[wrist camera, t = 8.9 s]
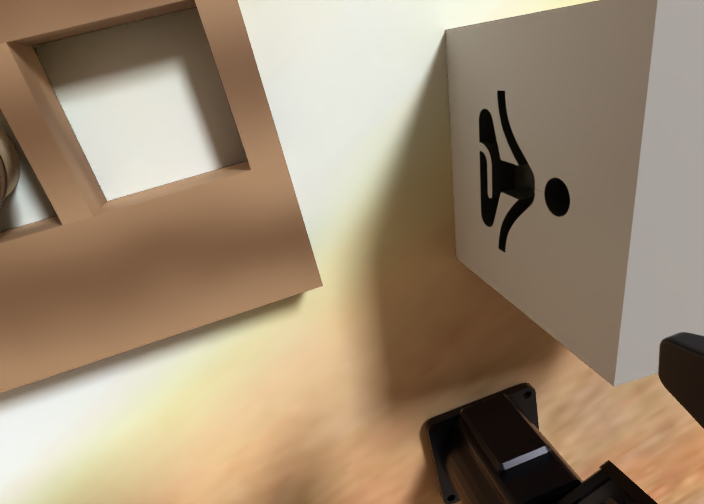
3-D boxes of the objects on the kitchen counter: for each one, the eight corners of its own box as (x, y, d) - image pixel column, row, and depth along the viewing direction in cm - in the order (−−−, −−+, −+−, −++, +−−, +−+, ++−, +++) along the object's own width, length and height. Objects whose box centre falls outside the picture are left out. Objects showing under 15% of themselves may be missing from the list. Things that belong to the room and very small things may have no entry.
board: (314, 266, 20) (322, 285, 19) (-44, 383, 18) (-73, 417, 17) (210, -79, 15) (207, -99, 13) (-309, 33, 13) (-394, 27, 11)
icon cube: (658, -1, 20) (1012, -59, 11) (633, 216, 24) (879, 304, 15) (445, 30, 18) (659, -12, 9) (456, 258, 22) (613, 386, 13)
